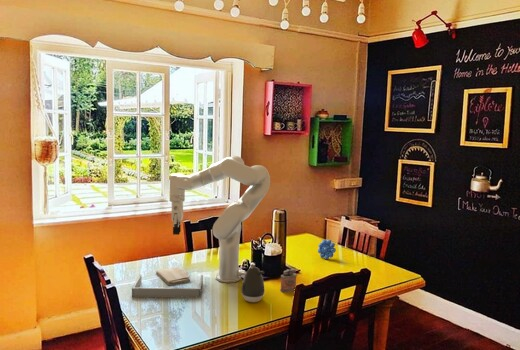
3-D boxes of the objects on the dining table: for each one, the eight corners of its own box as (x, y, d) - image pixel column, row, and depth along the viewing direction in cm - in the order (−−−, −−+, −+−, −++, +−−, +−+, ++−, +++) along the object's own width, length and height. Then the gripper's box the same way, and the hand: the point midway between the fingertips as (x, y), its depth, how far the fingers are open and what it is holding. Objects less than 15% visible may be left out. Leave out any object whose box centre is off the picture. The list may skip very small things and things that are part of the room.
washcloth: (168, 287, 204) (169, 280, 203) (155, 274, 218) (155, 268, 218) (192, 282, 210) (192, 276, 210) (177, 270, 225) (177, 264, 225)
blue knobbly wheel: (338, 260, 249) (340, 239, 247) (332, 262, 244) (333, 242, 242) (321, 255, 257) (323, 235, 255) (315, 257, 252) (316, 237, 250)
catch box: (202, 283, 208) (202, 275, 208) (200, 297, 193) (200, 288, 192) (139, 282, 206) (139, 274, 206) (131, 296, 191) (131, 288, 190)
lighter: (282, 293, 201) (283, 272, 199) (278, 290, 204) (279, 269, 202) (297, 290, 204) (298, 269, 203) (293, 287, 207) (294, 267, 206)
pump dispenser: (256, 307, 185) (257, 273, 183) (236, 300, 190) (237, 267, 188) (268, 299, 194) (270, 266, 191) (249, 293, 199) (250, 261, 197)
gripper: (182, 201, 212) (182, 238, 215) (186, 195, 229) (185, 229, 231) (167, 201, 212) (166, 237, 214) (171, 194, 228) (171, 228, 231)
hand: (176, 232), depth 223 cm, fingers open, 3 cm apart
